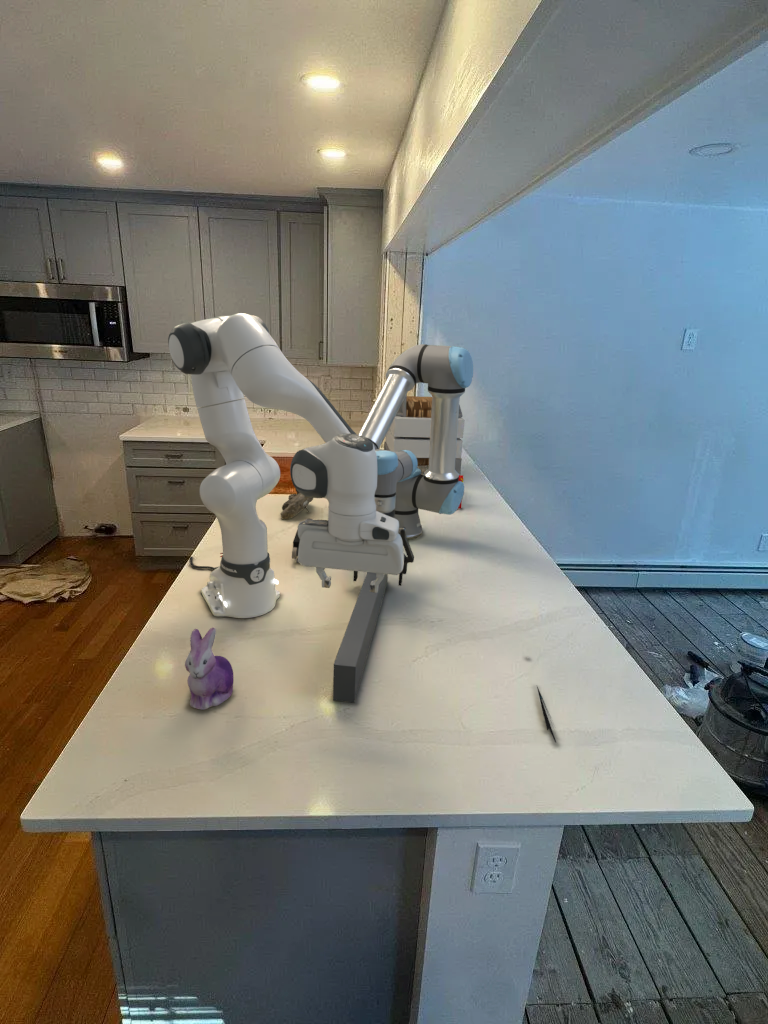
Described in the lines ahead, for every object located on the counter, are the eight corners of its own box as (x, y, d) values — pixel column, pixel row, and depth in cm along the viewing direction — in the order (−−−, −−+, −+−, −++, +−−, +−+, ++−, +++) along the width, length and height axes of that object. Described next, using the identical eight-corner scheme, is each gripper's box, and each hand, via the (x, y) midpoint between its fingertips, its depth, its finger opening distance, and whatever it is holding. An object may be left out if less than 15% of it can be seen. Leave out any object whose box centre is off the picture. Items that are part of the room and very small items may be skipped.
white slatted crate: (382, 463, 289) (386, 382, 275) (445, 464, 293) (451, 384, 279) (390, 482, 257) (394, 392, 243) (460, 483, 261) (468, 394, 247)
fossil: (285, 490, 226) (313, 470, 221) (301, 508, 229) (329, 489, 224) (270, 515, 206) (301, 493, 201) (287, 534, 209) (318, 513, 204)
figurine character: (313, 570, 172) (317, 545, 186) (312, 548, 169) (317, 525, 182) (290, 569, 172) (297, 545, 186) (290, 548, 169) (296, 524, 182)
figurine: (192, 718, 107) (185, 650, 102) (183, 687, 116) (177, 623, 111) (241, 704, 111) (238, 639, 106) (229, 675, 120) (225, 613, 115)
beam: (372, 581, 164) (373, 554, 162) (387, 582, 164) (388, 555, 161) (332, 700, 114) (333, 664, 111) (354, 703, 114) (355, 666, 111)
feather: (528, 662, 131) (533, 656, 131) (556, 747, 105) (562, 740, 104) (522, 659, 131) (527, 652, 130) (548, 742, 104) (555, 735, 104)
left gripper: (292, 523, 104) (293, 591, 108) (403, 533, 102) (399, 601, 106) (301, 512, 110) (302, 576, 114) (407, 521, 107) (403, 586, 112)
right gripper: (333, 509, 150) (332, 583, 157) (425, 517, 147) (419, 591, 154) (339, 500, 157) (338, 571, 164) (427, 508, 154) (421, 579, 161)
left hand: (350, 588), depth 110 cm, fingers open, 8 cm apart
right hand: (377, 581), depth 159 cm, fingers open, 12 cm apart
